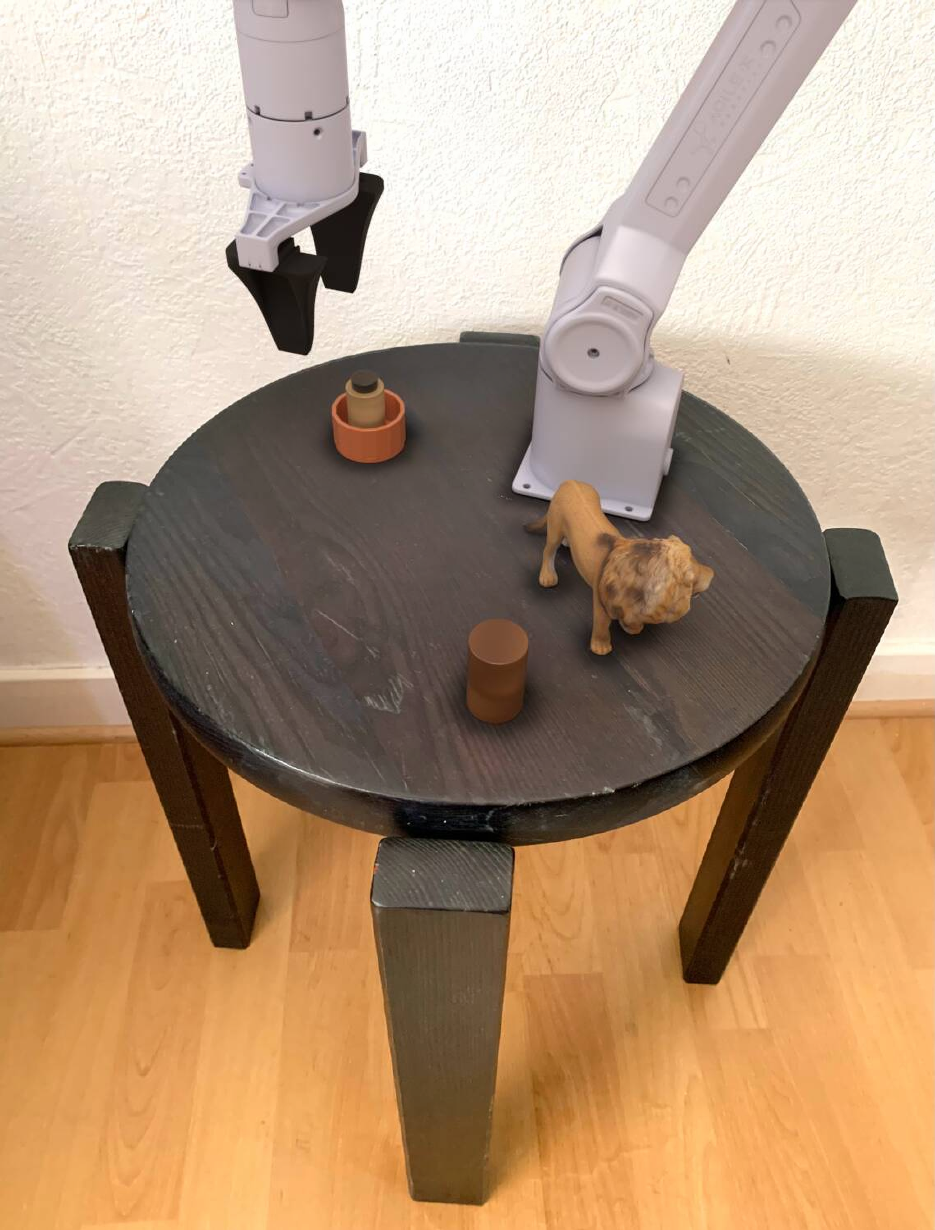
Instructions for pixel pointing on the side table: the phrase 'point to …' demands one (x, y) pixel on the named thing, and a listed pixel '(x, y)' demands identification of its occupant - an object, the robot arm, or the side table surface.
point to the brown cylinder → (496, 670)
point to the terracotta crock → (370, 432)
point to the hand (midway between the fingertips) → (318, 318)
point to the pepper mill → (365, 400)
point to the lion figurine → (618, 565)
